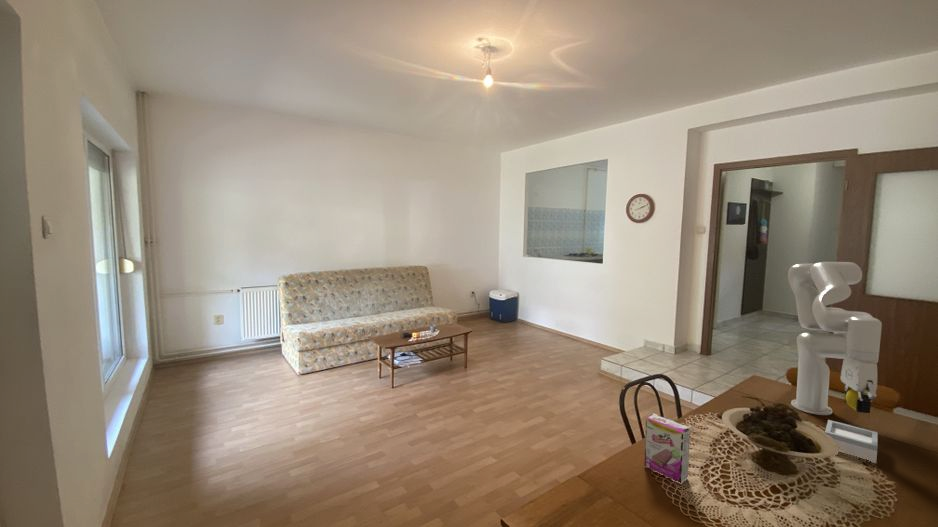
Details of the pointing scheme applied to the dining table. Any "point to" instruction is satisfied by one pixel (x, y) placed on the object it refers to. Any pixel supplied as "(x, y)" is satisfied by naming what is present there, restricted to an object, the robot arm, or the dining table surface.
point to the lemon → (852, 398)
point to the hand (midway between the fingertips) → (856, 407)
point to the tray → (854, 440)
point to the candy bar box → (667, 447)
